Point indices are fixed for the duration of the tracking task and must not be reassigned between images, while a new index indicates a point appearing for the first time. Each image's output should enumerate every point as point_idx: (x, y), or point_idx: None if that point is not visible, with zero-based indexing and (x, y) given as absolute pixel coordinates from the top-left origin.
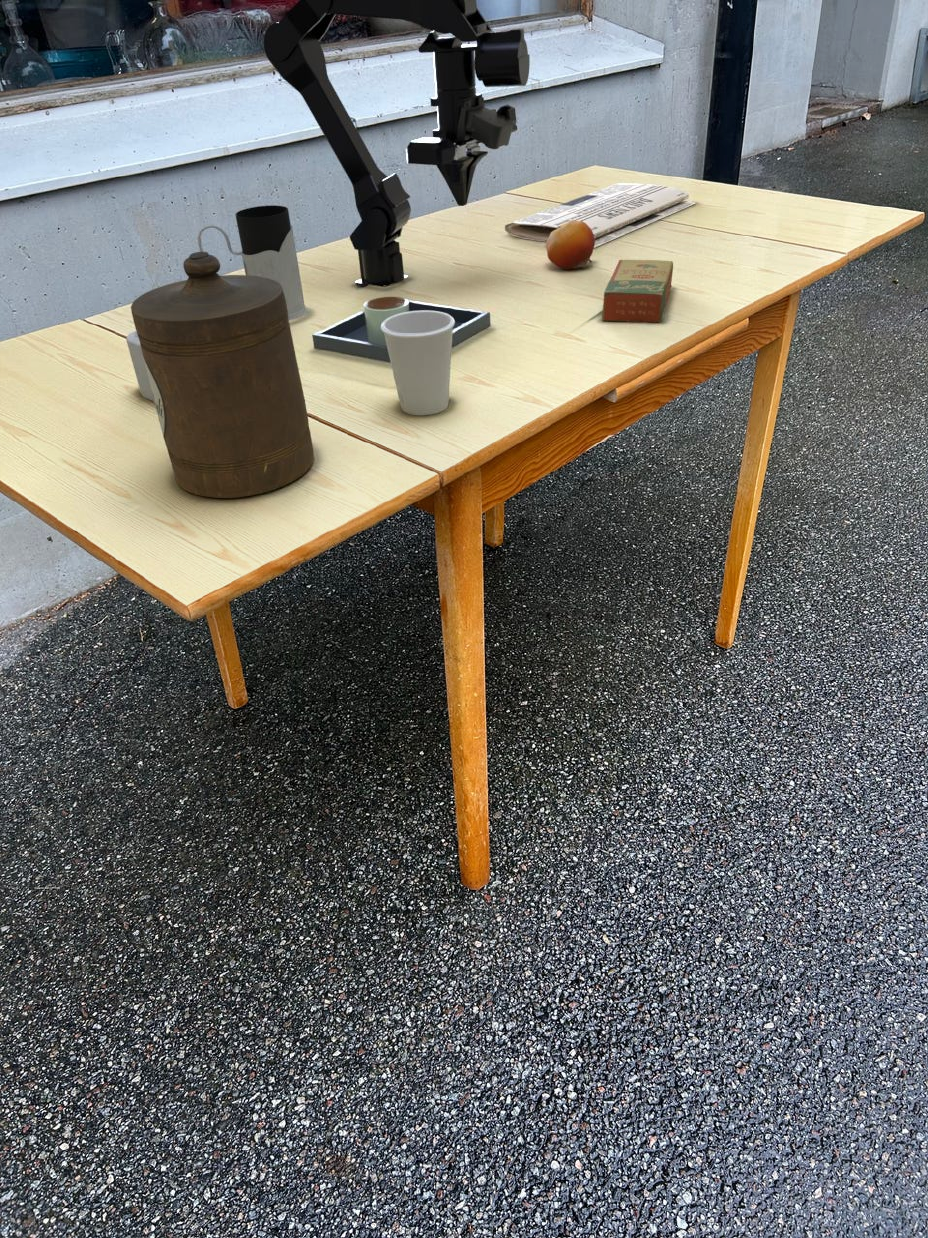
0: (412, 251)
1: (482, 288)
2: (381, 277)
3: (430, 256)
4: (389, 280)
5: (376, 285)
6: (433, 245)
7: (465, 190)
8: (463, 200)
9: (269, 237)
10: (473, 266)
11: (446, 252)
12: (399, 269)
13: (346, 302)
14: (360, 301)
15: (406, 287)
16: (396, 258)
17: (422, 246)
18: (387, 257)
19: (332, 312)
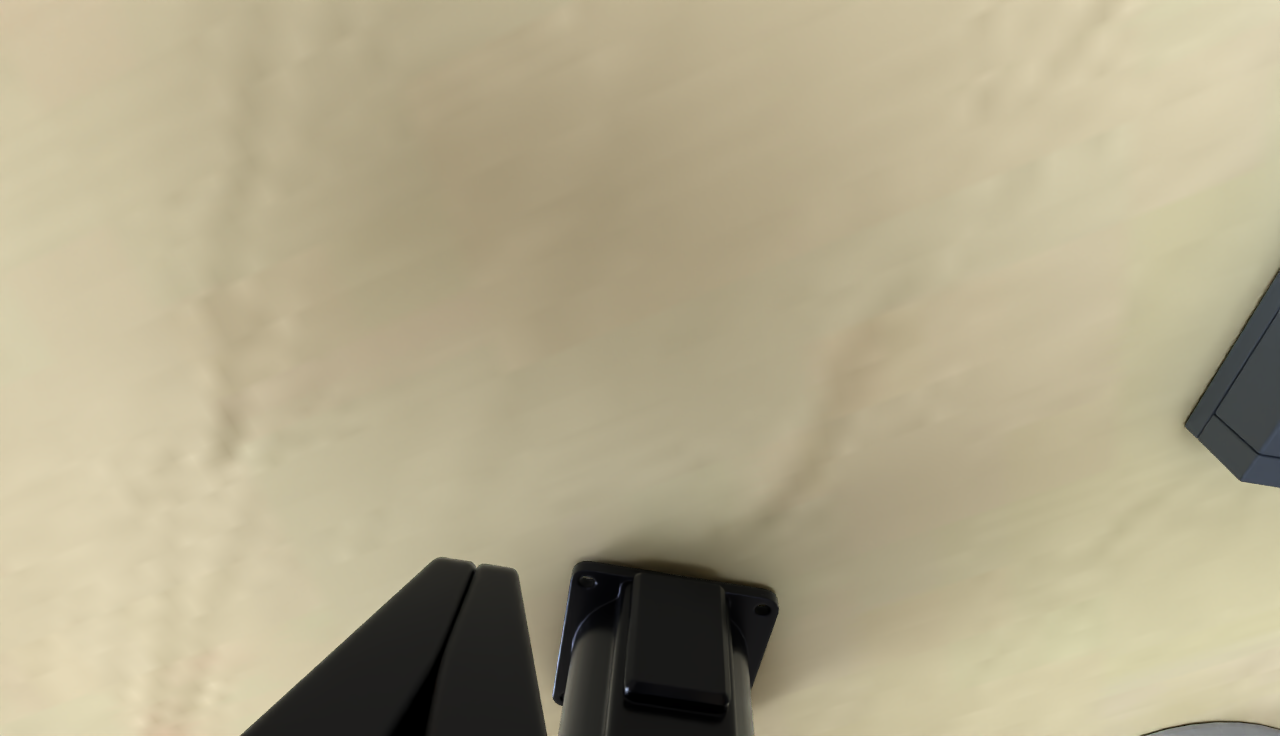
0: (161, 690)
1: (624, 86)
2: (740, 654)
3: (183, 600)
4: (729, 613)
5: (767, 641)
6: (22, 647)
7: (459, 728)
8: (522, 617)
9: None
10: (219, 335)
11: (80, 559)
12: (675, 619)
13: (983, 666)
14: (965, 622)
15: (708, 521)
16: (693, 676)
17: (68, 681)
18: (735, 716)
19: (1139, 664)
